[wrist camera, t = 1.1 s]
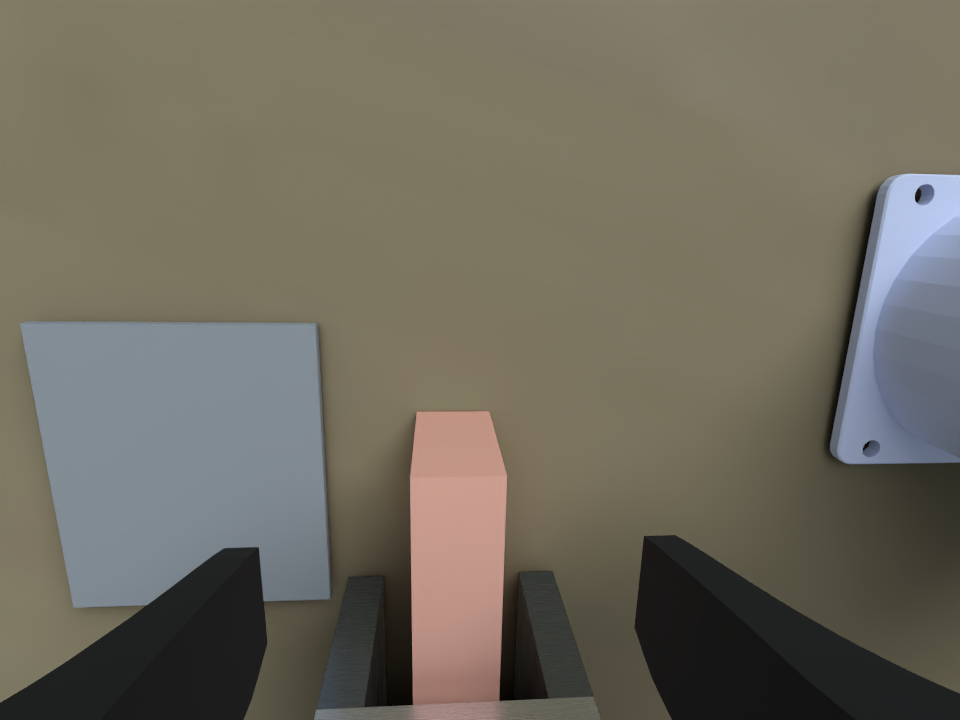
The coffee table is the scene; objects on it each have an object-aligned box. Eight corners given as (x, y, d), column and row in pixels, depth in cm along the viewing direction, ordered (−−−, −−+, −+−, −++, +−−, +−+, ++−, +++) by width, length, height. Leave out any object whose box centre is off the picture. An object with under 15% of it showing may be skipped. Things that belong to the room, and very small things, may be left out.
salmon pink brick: (489, 411, 15) (506, 476, 11) (483, 653, 17) (496, 777, 13) (416, 411, 15) (410, 477, 11) (419, 655, 17) (413, 782, 13)
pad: (318, 323, 14) (315, 325, 14) (332, 592, 16) (330, 599, 16) (28, 321, 14) (19, 323, 13) (80, 600, 16) (73, 607, 15)
